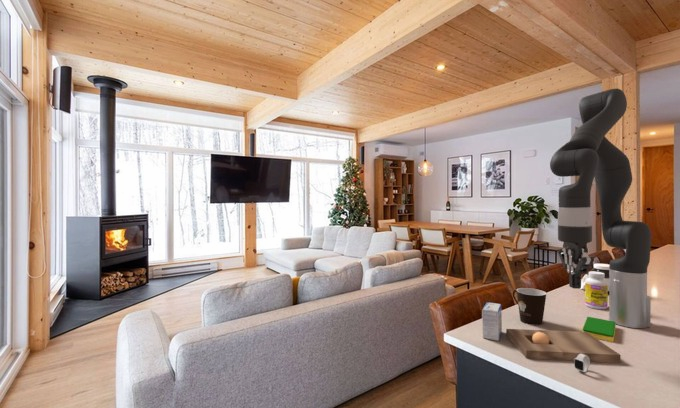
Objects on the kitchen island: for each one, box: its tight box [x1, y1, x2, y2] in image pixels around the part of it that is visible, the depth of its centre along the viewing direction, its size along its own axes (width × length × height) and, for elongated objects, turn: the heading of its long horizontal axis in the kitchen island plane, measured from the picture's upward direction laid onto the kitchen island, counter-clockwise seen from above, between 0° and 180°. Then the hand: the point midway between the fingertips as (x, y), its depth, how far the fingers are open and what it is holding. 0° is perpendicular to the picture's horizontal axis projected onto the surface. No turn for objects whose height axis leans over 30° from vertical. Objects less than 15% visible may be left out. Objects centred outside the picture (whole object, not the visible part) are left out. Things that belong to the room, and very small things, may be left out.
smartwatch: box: [573, 354, 591, 373], centre depth 78 cm, size 4×2×4 cm, turn 118°
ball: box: [532, 332, 549, 344], centre depth 91 cm, size 4×4×4 cm
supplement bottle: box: [584, 270, 609, 310], centre depth 122 cm, size 7×7×13 cm
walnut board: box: [505, 328, 621, 364], centre depth 90 cm, size 22×14×2 cm, turn 82°
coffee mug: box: [512, 287, 547, 326], centre depth 111 cm, size 12×9×10 cm
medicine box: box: [481, 302, 503, 341], centre depth 99 cm, size 8×4×9 cm, turn 148°
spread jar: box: [580, 263, 610, 295], centre depth 142 cm, size 12×11×12 cm
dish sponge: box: [582, 316, 617, 343], centre depth 101 cm, size 7×14×2 cm, turn 138°
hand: (575, 287), depth 89 cm, fingers closed
